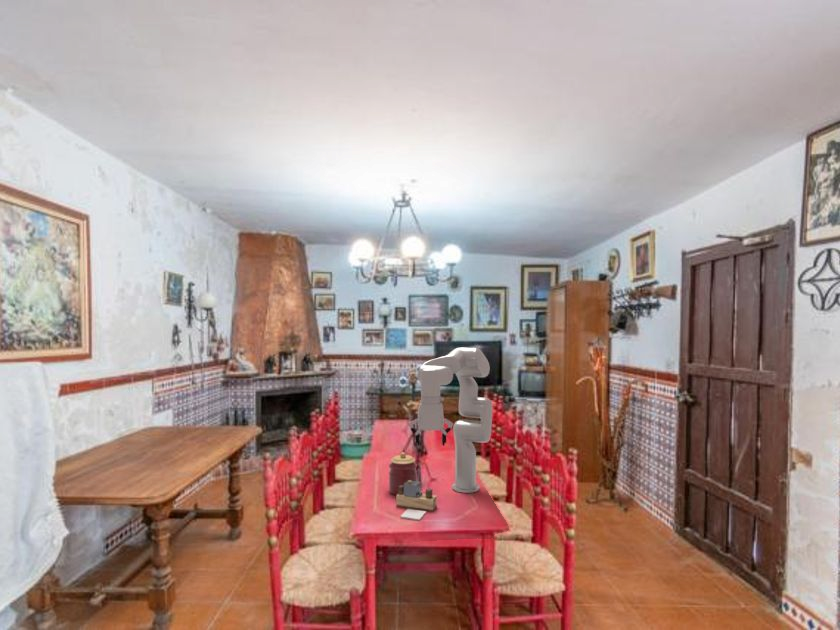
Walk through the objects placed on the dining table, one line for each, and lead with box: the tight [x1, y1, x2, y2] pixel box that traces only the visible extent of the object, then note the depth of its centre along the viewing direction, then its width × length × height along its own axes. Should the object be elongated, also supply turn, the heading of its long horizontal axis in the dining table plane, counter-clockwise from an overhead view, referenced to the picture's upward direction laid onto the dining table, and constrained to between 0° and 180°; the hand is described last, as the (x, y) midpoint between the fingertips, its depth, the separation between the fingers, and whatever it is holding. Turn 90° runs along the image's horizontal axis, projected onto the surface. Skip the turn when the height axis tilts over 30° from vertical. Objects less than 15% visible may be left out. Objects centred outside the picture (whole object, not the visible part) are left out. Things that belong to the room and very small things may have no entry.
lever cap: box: [404, 480, 421, 498], centre depth 195 cm, size 5×6×6 cm
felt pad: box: [399, 508, 427, 522], centre depth 186 cm, size 8×8×1 cm
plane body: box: [395, 485, 438, 512], centre depth 195 cm, size 6×16×8 cm, turn 70°
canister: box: [388, 451, 418, 496], centre depth 213 cm, size 13×13×18 cm
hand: (430, 444), depth 180 cm, fingers open, 9 cm apart
